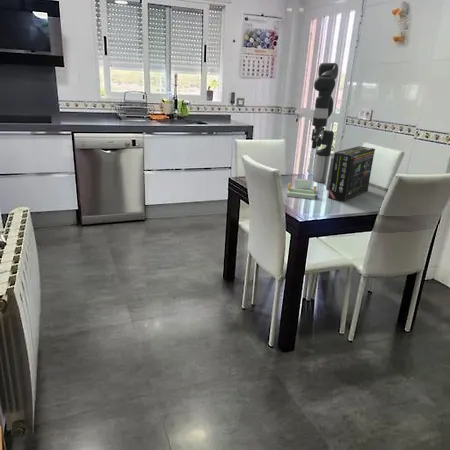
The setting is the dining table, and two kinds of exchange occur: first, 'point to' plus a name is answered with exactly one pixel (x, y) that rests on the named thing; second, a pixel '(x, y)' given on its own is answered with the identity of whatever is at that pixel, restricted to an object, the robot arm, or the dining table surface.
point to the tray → (301, 192)
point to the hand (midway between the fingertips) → (316, 147)
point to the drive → (303, 184)
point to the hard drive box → (329, 171)
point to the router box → (351, 173)
